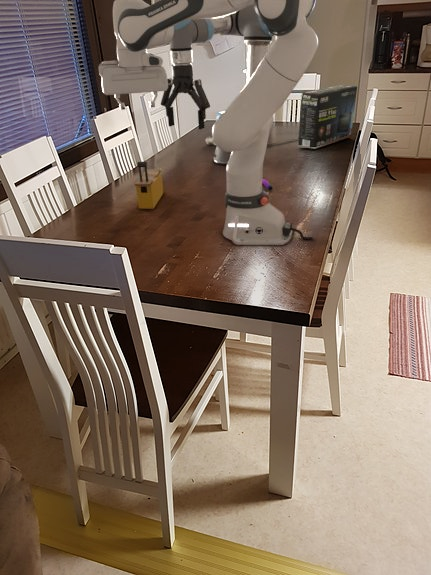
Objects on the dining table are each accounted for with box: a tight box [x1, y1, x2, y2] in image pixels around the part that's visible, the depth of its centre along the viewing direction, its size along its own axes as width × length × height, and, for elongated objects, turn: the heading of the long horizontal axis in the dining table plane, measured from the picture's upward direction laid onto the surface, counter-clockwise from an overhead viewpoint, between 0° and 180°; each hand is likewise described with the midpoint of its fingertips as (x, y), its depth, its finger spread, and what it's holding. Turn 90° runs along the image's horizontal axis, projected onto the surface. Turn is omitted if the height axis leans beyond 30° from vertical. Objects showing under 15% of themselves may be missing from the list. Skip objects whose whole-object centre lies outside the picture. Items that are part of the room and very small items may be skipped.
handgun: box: [262, 176, 274, 192], centre depth 191 cm, size 21×8×2 cm, turn 11°
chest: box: [135, 171, 164, 210], centre depth 177 cm, size 17×6×9 cm, turn 173°
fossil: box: [205, 135, 217, 146], centre depth 250 cm, size 18×11×15 cm
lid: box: [134, 161, 162, 187], centre depth 172 cm, size 18×6×8 cm, turn 173°
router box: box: [297, 84, 358, 151], centre depth 238 cm, size 36×11×27 cm, turn 134°
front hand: (137, 108), depth 145 cm, fingers open, 8 cm apart
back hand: (186, 127), depth 171 cm, fingers open, 13 cm apart
